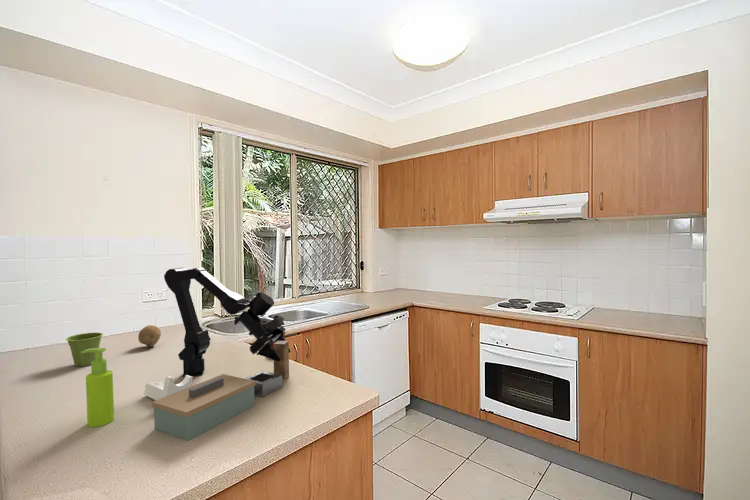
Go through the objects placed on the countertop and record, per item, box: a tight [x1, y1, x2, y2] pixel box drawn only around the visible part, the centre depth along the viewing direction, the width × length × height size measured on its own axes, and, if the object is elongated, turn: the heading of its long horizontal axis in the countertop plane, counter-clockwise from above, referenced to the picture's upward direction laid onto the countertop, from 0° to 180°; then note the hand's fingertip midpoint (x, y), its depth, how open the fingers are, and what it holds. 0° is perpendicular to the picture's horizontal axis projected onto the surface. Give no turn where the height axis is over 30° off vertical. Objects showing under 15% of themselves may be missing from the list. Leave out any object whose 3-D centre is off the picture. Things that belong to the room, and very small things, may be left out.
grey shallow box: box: [244, 370, 283, 398], centre depth 125 cm, size 9×9×4 cm
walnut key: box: [273, 340, 290, 381], centre depth 136 cm, size 4×4×12 cm
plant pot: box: [65, 332, 104, 367], centre depth 153 cm, size 12×12×11 cm
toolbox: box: [151, 373, 255, 442], centre depth 109 cm, size 14×28×9 cm, turn 152°
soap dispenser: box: [81, 347, 115, 428], centre depth 104 cm, size 6×7×20 cm
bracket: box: [143, 375, 194, 401], centre depth 120 cm, size 13×7×8 cm, turn 55°
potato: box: [137, 324, 162, 348], centre depth 177 cm, size 9×9×10 cm
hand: (284, 356), depth 135 cm, fingers open, 9 cm apart
